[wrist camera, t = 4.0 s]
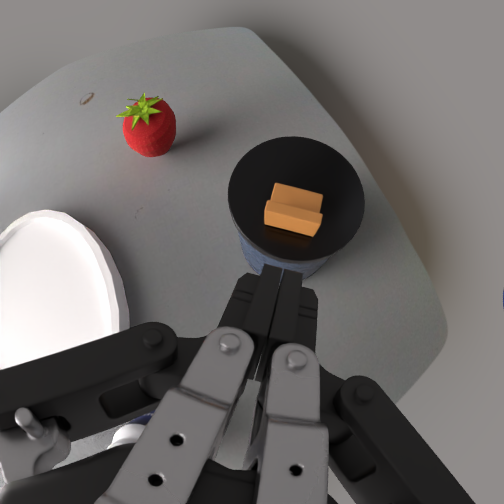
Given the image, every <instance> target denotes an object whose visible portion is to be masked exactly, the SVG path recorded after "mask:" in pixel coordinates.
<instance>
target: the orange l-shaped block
mask: <svg viewBox="0 0 504 504" xmlns="http://www.w3.org/2000/svg"><path fill="white" fill-rule="evenodd" d="M322 199H323V195H322V194H319V193H315V192H311V191H307V190H303V189H300V188H296V187H292V186H288V185H284V184H280V183H275V185H274V189H273V192H272V196H271V199H270V200H268V201H267V204H266V207H265V217H264V221H265V224H266V225H270V226H274V227H278V228H282V229H286V230H290V231H293V232H297V233H301V234H305V235H309V236H312V237H313V236H314V235H315V234H316V232H317V230H318V228H319V227H320V225H321V221H322V216H323V214H321V213H320V209H321V204H322Z"/></svg>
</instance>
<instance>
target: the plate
mask: <svg viewBox="0 0 504 504" xmlns="http://www.w3.org/2000/svg"><path fill="white" fill-rule="evenodd" d="M129 328H130V325H129V309H128V304H127V300H126V295H125V291H124V286H123V281H122V278H121V276H120V274H119V271H118V269H117V267H116V265H115V263H114V260H113V258H112V256H111V253H110V251H109V250H108V249H107V248H106V247H105V245H104V244H103V243H102V242H101V240H100V239H99V238H98V237H97V235H96V234H95V233H94V232H93V231H92V230H90V229H89V228H87V227H86V226H84V225H83V224H81V223H80V222H78V221H77V220H75V219H74V218H72V217H70V216H69V215H67V214H66V213H63V212H58V211H53V210H48V209H46V210H40V211H35V212H30V213H28V214H26V215H24V216H22V217H21V218H19V219H17V220H16V221H14V222H12V223H11V224H10V225H9V226H8V227H7V228H6V230H5V231H4V232H3V233H2V234H1V235H0V370H2V369H5V368H8V367H12V366H15V365H18V364H22V363H25V362H28V361H32V360H35V359H38V358H41V357H44V356H48V355H51V354H54V353H57V352H60V351H63V350H66V349H70V348H73V347H76V346H79V345H82V344H85V343H88V342H91V341H94V340H97V339H100V338H103V337H106V336H109V335H112V334H115V333H118V332H120V331H123V330H126V329H129Z"/></svg>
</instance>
